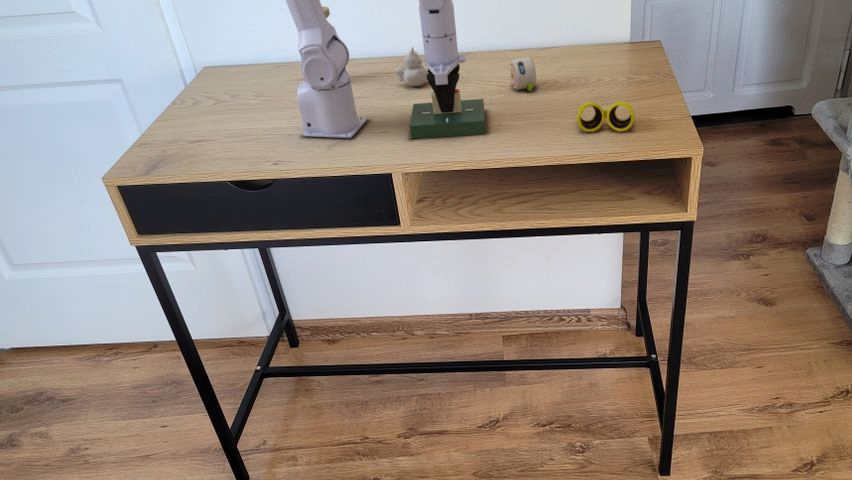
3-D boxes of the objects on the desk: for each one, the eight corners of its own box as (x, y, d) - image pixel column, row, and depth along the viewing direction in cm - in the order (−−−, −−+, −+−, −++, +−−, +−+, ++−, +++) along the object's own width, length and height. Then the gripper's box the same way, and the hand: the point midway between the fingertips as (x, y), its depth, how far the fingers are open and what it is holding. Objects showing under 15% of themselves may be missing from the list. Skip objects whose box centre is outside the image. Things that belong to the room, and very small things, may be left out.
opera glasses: (632, 125, 132) (633, 97, 130) (634, 132, 127) (635, 103, 125) (577, 126, 133) (577, 98, 131) (577, 133, 128) (577, 104, 126)
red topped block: (433, 114, 133) (431, 93, 131) (433, 110, 134) (431, 90, 132) (461, 112, 133) (459, 91, 131) (461, 108, 134) (459, 88, 132)
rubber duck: (428, 89, 150) (423, 49, 145) (396, 91, 150) (390, 51, 146) (430, 79, 155) (425, 40, 150) (398, 81, 155) (392, 43, 150)
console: (411, 139, 131) (409, 125, 129) (414, 116, 139) (413, 103, 138) (485, 133, 131) (484, 119, 129) (484, 111, 139) (483, 97, 138)
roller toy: (515, 95, 145) (514, 66, 141) (507, 84, 150) (505, 55, 146) (537, 91, 145) (536, 62, 142) (528, 80, 150) (527, 52, 147)
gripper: (462, 44, 119) (469, 124, 127) (462, 18, 131) (469, 92, 139) (418, 48, 120) (428, 127, 127) (423, 21, 131) (431, 95, 139)
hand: (447, 109), depth 133 cm, fingers closed
